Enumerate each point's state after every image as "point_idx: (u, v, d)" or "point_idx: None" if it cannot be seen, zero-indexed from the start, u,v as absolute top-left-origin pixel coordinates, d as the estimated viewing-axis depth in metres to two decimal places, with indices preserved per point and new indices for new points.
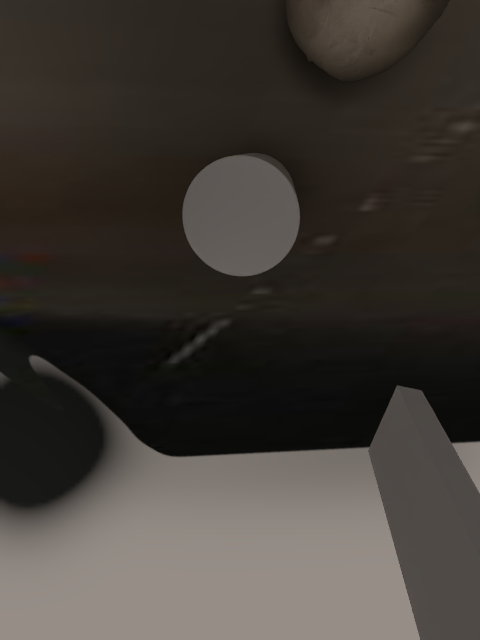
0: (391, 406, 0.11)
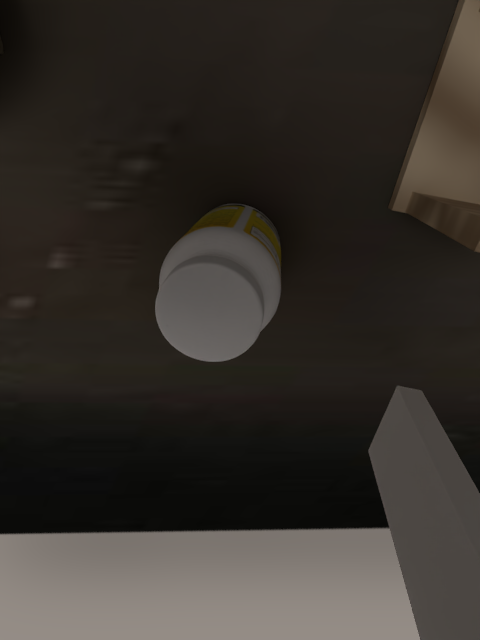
0: (391, 406, 0.11)
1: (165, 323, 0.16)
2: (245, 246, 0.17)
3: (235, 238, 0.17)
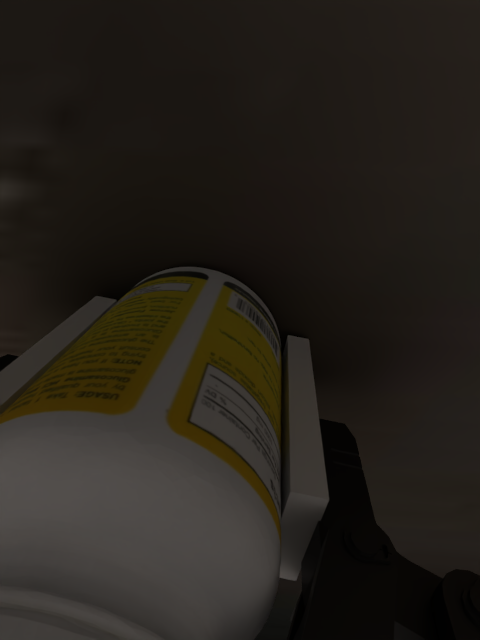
0: (283, 353, 0.13)
1: None
2: (160, 505, 0.05)
3: (124, 474, 0.05)
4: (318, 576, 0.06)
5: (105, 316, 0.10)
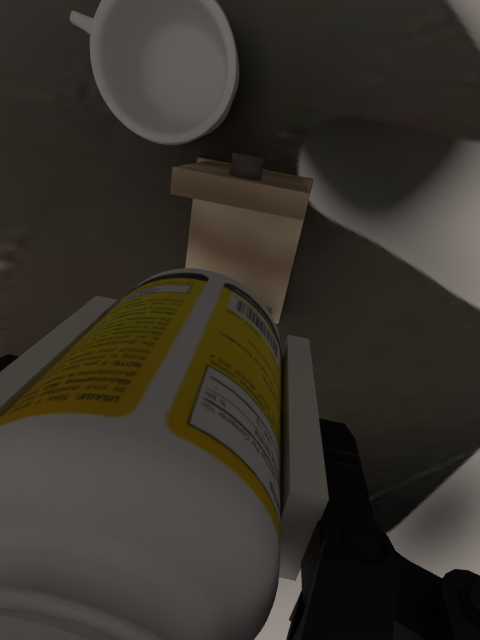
0: (283, 353, 0.13)
1: None
2: (160, 506, 0.05)
3: (124, 477, 0.05)
4: (317, 576, 0.06)
5: (105, 318, 0.10)
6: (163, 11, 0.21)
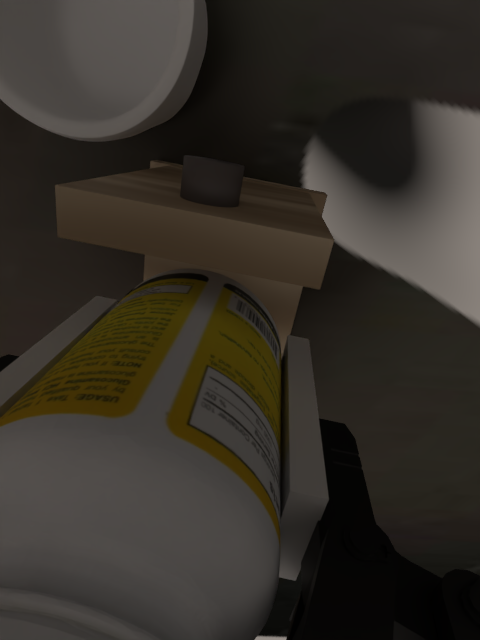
0: (283, 353, 0.13)
1: None
2: (160, 507, 0.05)
3: (124, 477, 0.05)
4: (317, 575, 0.06)
5: (105, 318, 0.10)
6: None
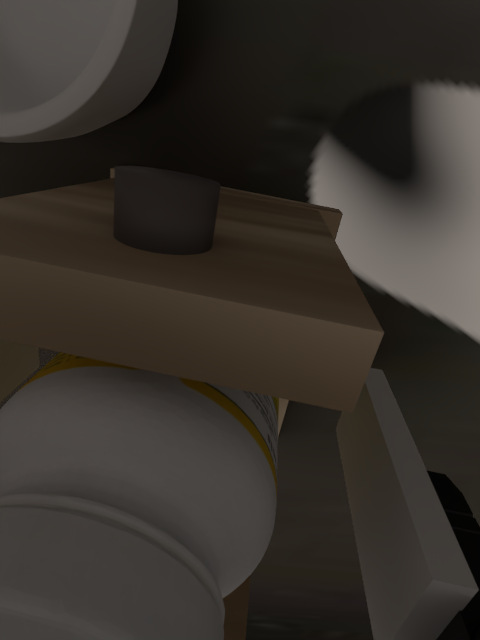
0: None
1: None
2: (174, 440, 0.06)
3: (144, 414, 0.06)
4: None
5: None
6: None
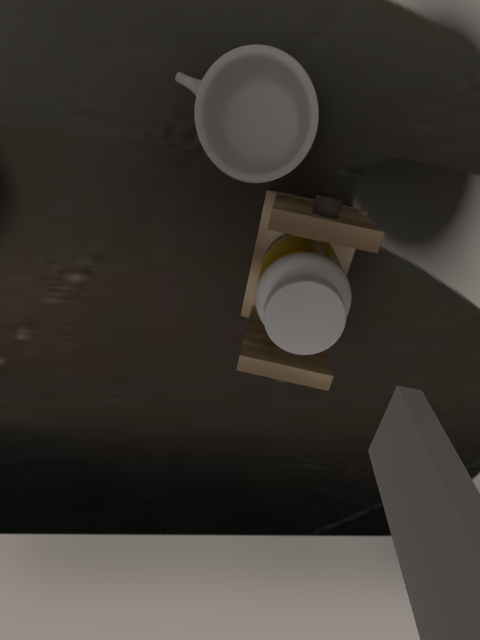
0: (391, 406, 0.11)
1: (270, 324, 0.21)
2: (329, 268, 0.22)
3: (321, 261, 0.22)
4: None
5: (281, 243, 0.27)
6: (251, 72, 0.25)
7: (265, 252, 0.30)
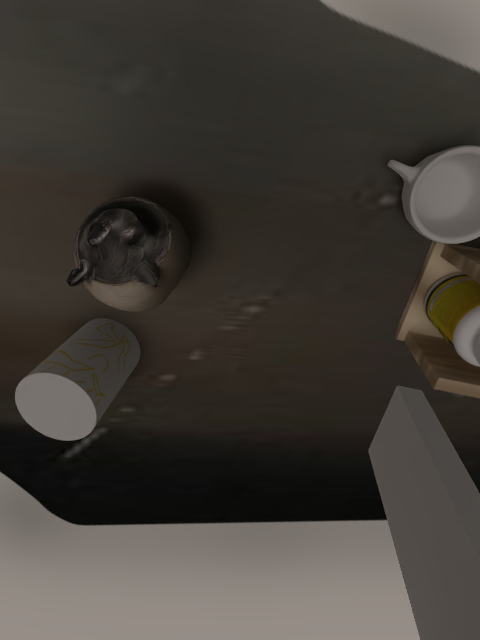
0: (391, 406, 0.11)
1: None
2: None
3: None
4: None
5: (459, 287, 0.34)
6: None
7: (430, 290, 0.37)
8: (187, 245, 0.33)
